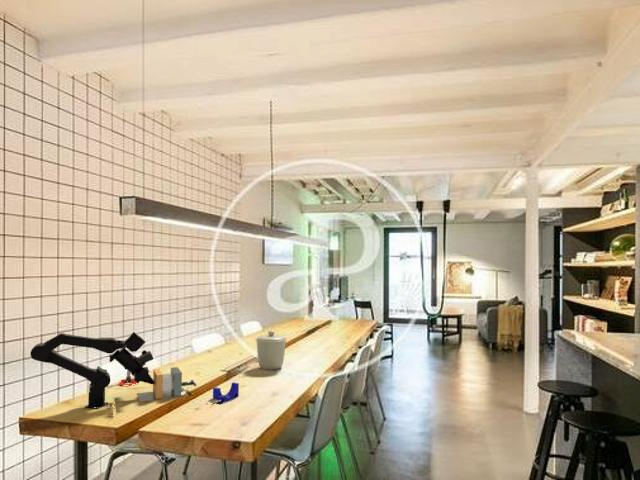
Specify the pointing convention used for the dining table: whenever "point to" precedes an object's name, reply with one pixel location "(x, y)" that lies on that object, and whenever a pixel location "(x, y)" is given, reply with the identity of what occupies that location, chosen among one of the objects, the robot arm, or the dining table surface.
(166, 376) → the steel block
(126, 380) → the red handwheel with stem
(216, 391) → the blue arch block
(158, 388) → the block
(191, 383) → the vise
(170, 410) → the dining table surface
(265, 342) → the canister
